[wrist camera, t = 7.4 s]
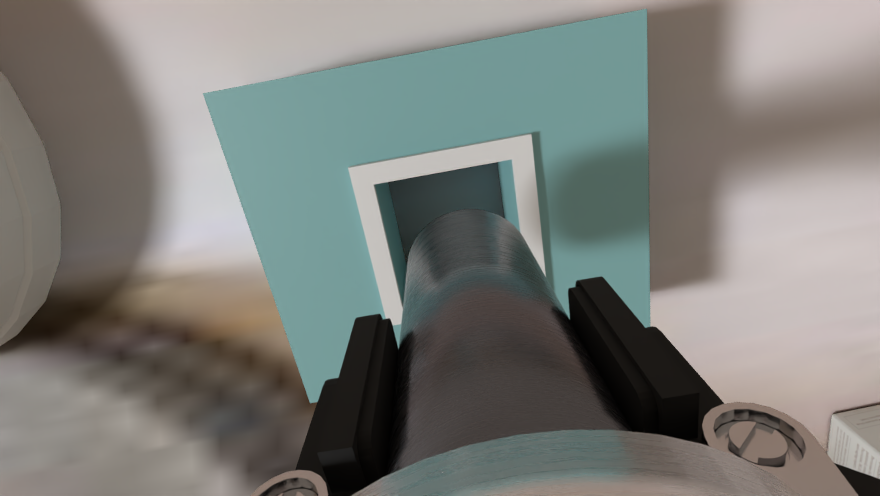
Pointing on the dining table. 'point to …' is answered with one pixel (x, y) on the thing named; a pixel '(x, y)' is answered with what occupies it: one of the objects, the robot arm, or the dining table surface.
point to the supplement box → (856, 440)
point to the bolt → (519, 388)
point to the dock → (443, 168)
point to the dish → (24, 217)
